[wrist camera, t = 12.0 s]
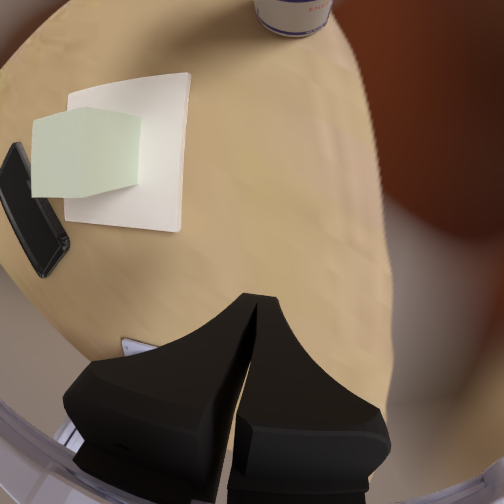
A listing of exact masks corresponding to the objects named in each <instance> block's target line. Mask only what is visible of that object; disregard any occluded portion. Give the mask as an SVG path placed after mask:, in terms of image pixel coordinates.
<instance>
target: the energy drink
mask: <svg viewBox="0 0 504 504" xmlns="http://www.w3.org/2000/svg"><path fill="white" fill-rule="evenodd" d="M253 2H254V6H255V10H256V14H257V17H258V19H259V21H260V22H261V23H262V25H263V26H264V27H266V28H267V29H268V30H270V31H272V32H274V33H276V34H279V35H283V36H287V37H304V36H309V35H312V34H315V33H316V32H318V31H320V30H321V29H322V28H323V27H324V26H325V25H326V23H327V21H328V18H329V14H330V10H331V6H332V3H333V0H253Z"/></svg>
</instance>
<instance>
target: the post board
mask: <svg viewBox="0 0 504 504" xmlns="http://www.w3.org/2000/svg"><path fill="white" fill-rule="evenodd" d="M191 77H192V75H191V74H190V73H188V72H185V73H174V74H164V75H156V76H148V77H142V78H135V79H129V80H124V81H119V82H114V83H109V84H104V85H100V86H96V87H92V88H88V89H84V90H80V91H77V92H73V93H70V94H69V97H68V104H67V111H68V110H72V109H76V108H81V107H85V106H87V107H93V108H99V109H104V110H110V111H115V112H120V113H125V114H130V115H134V116H139V117H142V121H141V133H140V148H139V169H138V184H137V185H133V186H128V187H124V188H120V189H116V190H111V191H107V192H103V193H99V194H96V195H92V196H88V197H84V198H64V213H65V221H71V222H82V223H92V224H102V225H112V226H121V227H131V228H141V229H150V230H159V231H169V232H179V231H180V230H181V210H182V182H183V163H184V148H185V135H186V123H187V112H188V103H189V94H190V85H191Z"/></svg>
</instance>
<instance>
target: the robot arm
mask: <svg viewBox="0 0 504 504" xmlns="http://www.w3.org/2000/svg"><path fill="white" fill-rule="evenodd" d="M122 347H123V351H124V355H125V357H119V358H113V359H106V360H99V361H92V362H91V363H90V364H89V365H88V366H87V367H86V368H85V369H84V371H83V372H82V373H81V374H80V375H79V377H78V378H77V379H76V380H75V381H74V383H73V384H72V385H71V386H70V388H69V389H68V390H67V391H66V392H65V394H64V396H63V404H64V408H65V410H66V412H67V414H68V416H67V417H66V418H65V420H64V421H63V422H62V424H61V425H60V427H59V428H58V430H57V431H56V433H55V435H54V436H53V438H51V437H49V436H48V435H46V434H45V433H44V432H42V431H41V430H39V429H38V428H36V427H35V426H34V425H32V424H31V423H30V422H28V421H27V420H26V419H24V418H23V417H22V416H20V415H19V414H18V413H17V412H15V411H14V410H13V409H12V408H11V407H9V406H8V405H7V404H6V403H5V402H3V401H2V400H1V399H0V486H1V487H2V488H3V489H4V490H5V491H6V492H7V493H8V494H9V496H11V498H13V500H15V501H16V502H17V503H18V504H215V501H216V496H217V492H218V487H219V482H220V477H221V472H222V468H223V462H224V458H225V453H226V448H227V444H228V439H229V434H230V430H231V425H232V420H233V416H234V412H235V408H236V404H237V401H238V398H239V395H240V392H241V389H242V386H243V383H244V380H245V377H246V374H247V371H248V367H249V364H250V367H249V371H248V375H247V379H246V383H245V386H244V390H243V393H242V397H241V400H240V403H239V407H238V410H237V413H236V424H235V436H234V447H233V460H232V467H231V471H230V476H229V480H228V485H227V489H228V493H227V504H366V502H365V492H367V491H368V490H369V482H368V477H369V476H370V475H371V474H372V473H373V472H374V471H375V470H376V469H377V468H378V467H379V466H380V465H381V464H382V463H383V461H384V460H385V459H386V457H387V456H388V455H389V453H390V450H391V442H390V438H389V434H388V430H387V427H386V424H385V421H384V419H383V417H382V414H381V411H380V409H379V408H377V407H375V406H374V405H372V404H370V403H368V402H367V401H365V400H363V399H361V398H360V397H358V396H356V395H355V394H353V393H352V392H350V391H349V390H347V389H346V388H345V387H343V386H342V385H341V384H339V383H338V382H337V381H335V380H334V379H333V378H332V377H331V376H329V375H328V374H327V373H326V372H325V371H324V370H323V369H322V368H321V367H320V366H319V365H318V364H317V363H316V362H315V361H314V360H313V359H312V358H311V357H310V356H309V354H308V353H307V352H306V351H305V350H304V348H303V347H302V345H301V344H300V343H299V341H298V340H297V338H296V337H295V335H294V333H293V332H292V330H291V328H290V326H289V325H288V323H287V321H286V319H285V317H284V315H283V312H282V310H281V307H280V305H279V300H278V299H277V298H276V297H272V296H264V295H256V294H249V293H243V294H241V295H240V296H239V297H238V298H237V299H236V300H235V301H234V302H232V303H231V304H230V305H229V306H228V307H227V308H226V309H224V310H223V311H222V312H221V313H220V314H218V315H217V316H216V317H215V318H213V319H212V320H210V321H209V322H207V323H206V324H205V325H203V326H202V327H200V328H199V329H197V330H195V331H194V332H192V333H190V334H188V335H186V336H184V337H182V338H180V339H178V340H175V341H173V342H170V343H168V344H165V345H163V346H160V347H156V346H152V345H148V344H144V343H140V342H137V341H133V340H130V339H126V338H124V339H123V340H122ZM250 361H251V363H250ZM393 504H504V456H503V457H502V458H500V459H498V460H497V461H496V462H494V463H493V464H492V465H491V466H489V467H488V468H487V469H486V470H485V471H484V472H483V474H480V475H478V476H476V477H474V478H471V479H469V480H467V481H464V482H462V483H460V484H457V485H454V486H452V487H449V488H446V489H443V490H440V491H438V492H434V493H431V494H428V495H424V496H421V497H417V498H413V499H410V500H406V501H401V502H397V503H393Z"/></svg>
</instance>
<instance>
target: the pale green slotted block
mask: <svg viewBox="0 0 504 504" xmlns="http://www.w3.org/2000/svg"><path fill="white" fill-rule="evenodd" d="M141 121H142V117H139V116H134V115H130V114H125V113H120V112H115V111H110V110H104V109H99V108H93V107H87V106H85V107H81V108H76V109H72V110H68V111H64V112H61V113H57V114H53V115H50V116H47V117H43V118H40V119H37V120H34V121H33V132H32V149H31V190H32V197H51V198H84V197H88V196H92V195H96V194H99V193H103V192H107V191H111V190H116V189H120V188H124V187H128V186H133V185H137V184H138V169H139V148H140V133H141Z"/></svg>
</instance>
